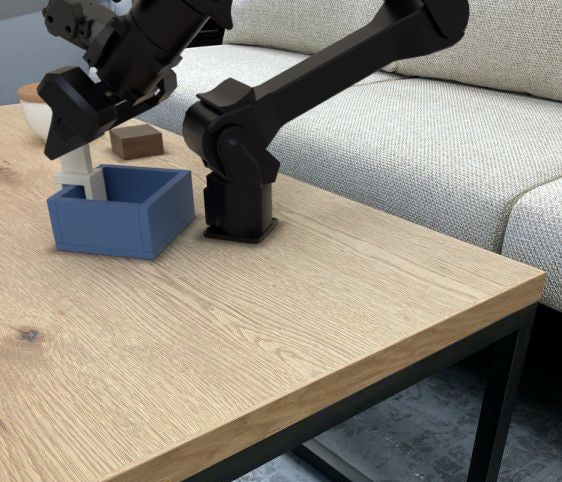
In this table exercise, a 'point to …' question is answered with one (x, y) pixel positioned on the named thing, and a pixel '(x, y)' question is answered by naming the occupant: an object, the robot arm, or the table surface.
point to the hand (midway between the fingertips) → (71, 144)
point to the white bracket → (81, 174)
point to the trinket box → (35, 110)
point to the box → (124, 212)
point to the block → (136, 141)
